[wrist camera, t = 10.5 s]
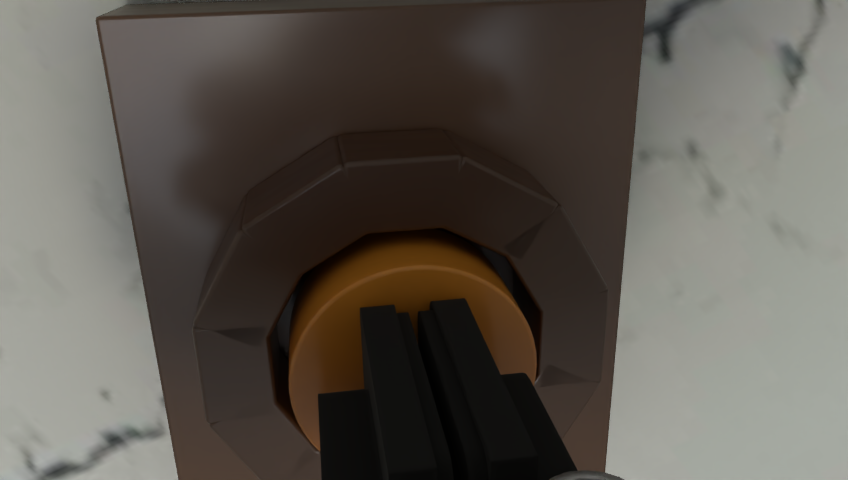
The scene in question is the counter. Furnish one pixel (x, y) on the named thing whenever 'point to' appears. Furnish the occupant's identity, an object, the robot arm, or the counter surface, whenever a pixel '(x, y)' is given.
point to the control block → (368, 187)
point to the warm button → (409, 292)
